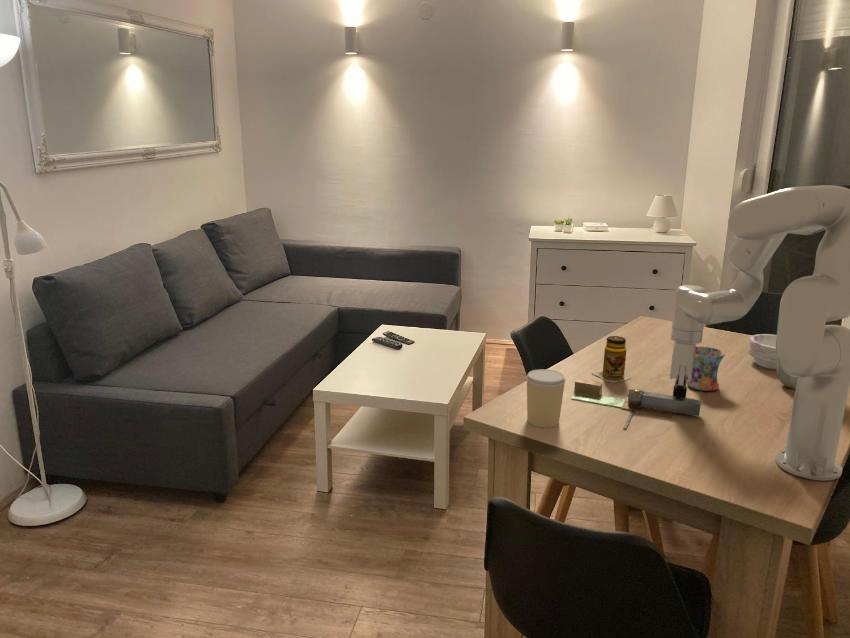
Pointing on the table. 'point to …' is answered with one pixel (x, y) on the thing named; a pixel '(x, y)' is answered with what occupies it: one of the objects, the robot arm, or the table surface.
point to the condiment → (614, 360)
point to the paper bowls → (763, 350)
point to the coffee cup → (544, 397)
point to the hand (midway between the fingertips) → (678, 401)
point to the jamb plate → (643, 410)
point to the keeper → (593, 393)
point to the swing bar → (664, 402)
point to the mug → (705, 368)
